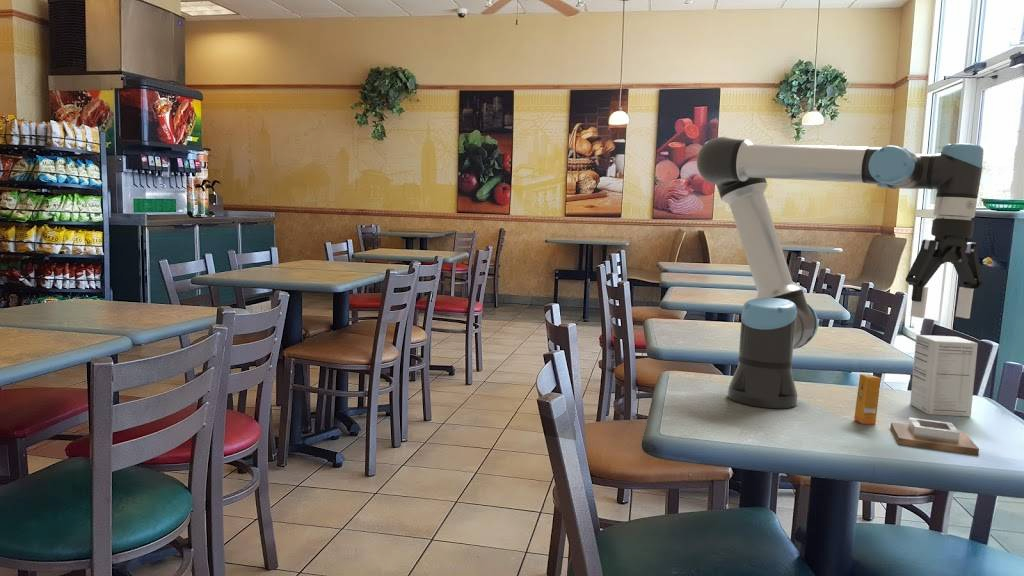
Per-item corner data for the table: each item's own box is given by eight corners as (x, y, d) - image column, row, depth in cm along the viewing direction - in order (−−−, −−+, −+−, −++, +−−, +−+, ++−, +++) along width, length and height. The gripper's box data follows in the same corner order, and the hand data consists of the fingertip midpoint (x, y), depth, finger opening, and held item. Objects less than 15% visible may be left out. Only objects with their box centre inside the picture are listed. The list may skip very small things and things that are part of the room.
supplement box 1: (877, 424, 147) (882, 377, 146) (861, 424, 147) (865, 377, 146) (869, 420, 150) (873, 374, 149) (853, 419, 150) (857, 373, 149)
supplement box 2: (950, 406, 166) (958, 336, 164) (972, 417, 157) (980, 342, 155) (908, 404, 167) (915, 333, 165) (927, 414, 157) (934, 340, 156)
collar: (913, 436, 135) (914, 426, 135) (908, 427, 142) (909, 417, 141) (958, 443, 132) (959, 432, 132) (950, 432, 139) (951, 422, 139)
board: (898, 444, 134) (899, 437, 134) (890, 427, 145) (891, 422, 145) (978, 455, 129) (979, 448, 129) (963, 437, 140) (964, 431, 140)
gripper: (927, 215, 141) (913, 319, 144) (1011, 222, 150) (997, 320, 153) (895, 214, 148) (882, 313, 151) (977, 220, 157) (964, 314, 159)
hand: (940, 317), depth 152 cm, fingers open, 13 cm apart
